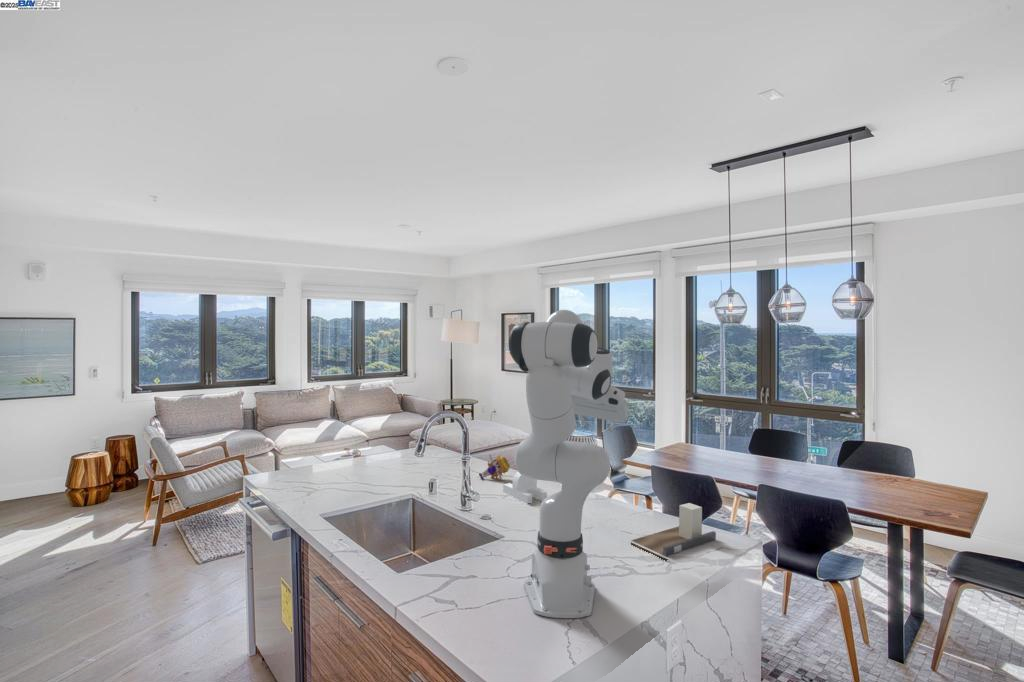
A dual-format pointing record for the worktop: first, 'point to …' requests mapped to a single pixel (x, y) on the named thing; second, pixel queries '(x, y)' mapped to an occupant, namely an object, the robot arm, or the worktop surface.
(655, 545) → the spiral bound notebook
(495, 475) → the toy
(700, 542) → the price rail
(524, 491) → the tape dispenser
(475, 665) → the worktop surface
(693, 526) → the carton
